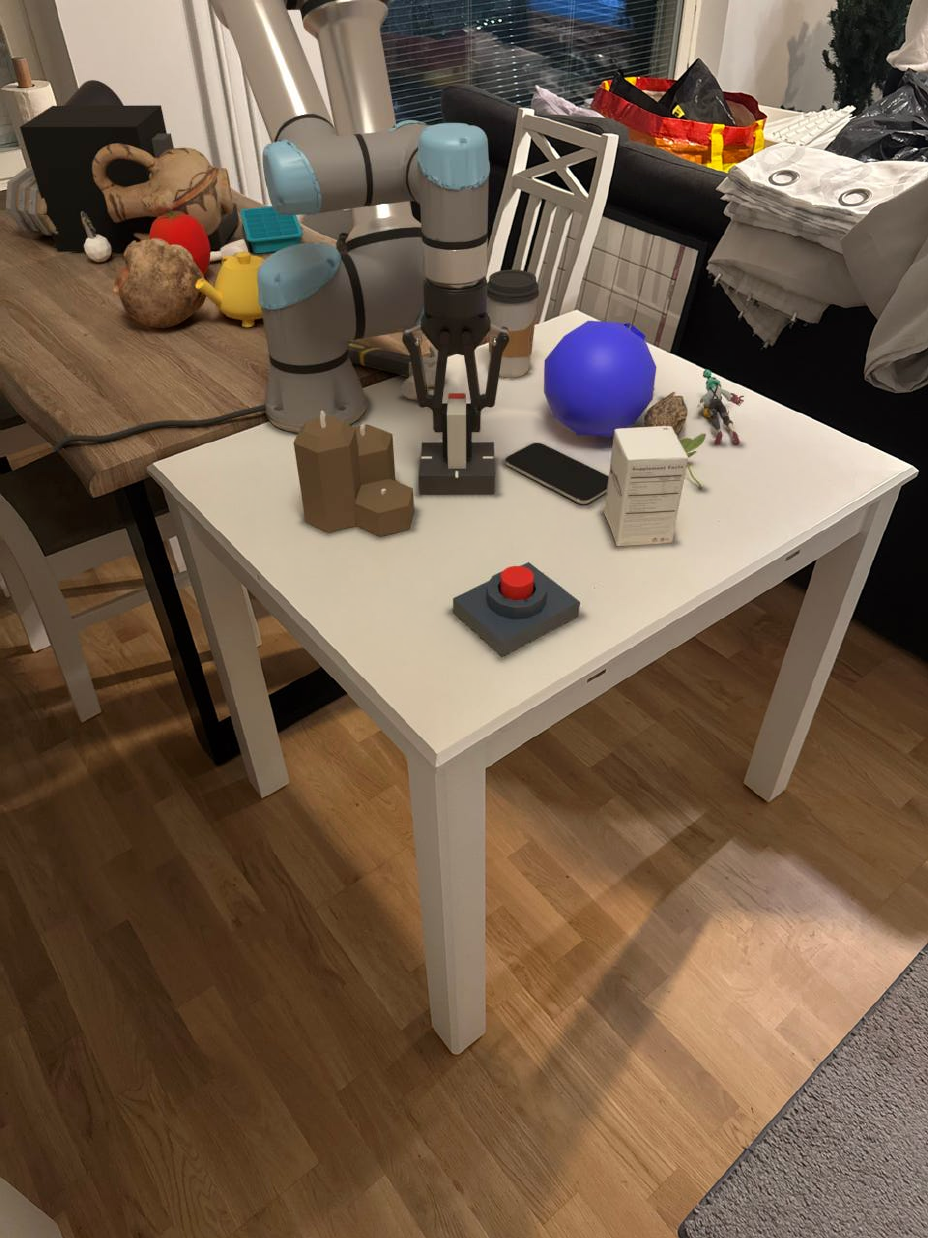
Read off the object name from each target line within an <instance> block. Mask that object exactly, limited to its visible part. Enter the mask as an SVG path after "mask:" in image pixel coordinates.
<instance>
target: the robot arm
mask: <svg viewBox="0 0 928 1238" xmlns="http://www.w3.org/2000/svg"><path fill="white" fill-rule="evenodd" d="M209 1H210V4H211V7H212V10H213V12H214V14H215V16H216V18H217V20H218V21H219V22H220V23H221V25H223V26H224V27H225V28H226V29H227V30H229V32H230V35H231V39H232V41H233V44H234V46H235V49H236V52H237V55H238V57H239V60H240V62H241V65H242V68H243V70H244V73H245V76H246V78H247V81H248V84H249V86H250V89H251V91H252V95H253V97H254V101H255V102H256V105H257V108H258V110H259V113H260V116H261V119H262V122H263V125H264V127H265V130H266V132H267V135H268V137H269V140H270V143H268V144H266V145H265V146H264V148H263V150H262V155H261V157H262V159H261V160H262V171H263V178H264V183H265V186H266V189H267V194H268V198H269V201H270V204H271V206H273V208H274V209H275V210H276V212H278V213H279V214H281V215H296V216H302V215H305V216H314V215H317V214H324V213H329V212H330V213H331V212H337V211H342V210H343V211H344V210H349V212H350V216H351V221H352V229H351V230H350V232H349V236H348V237H347V239H346V247H347V252H348V253H347V254H341V255H340V253H339V252H338V250H337V249H336V248H337V247H336V246H334V245H333V244H331V243H328V242H317V243H314V242H312V241H311V242H304V243H303V242H302V243H300V244H297V245H293V246H290V247H287V248H284V249H281V250H279V251H274V252H272V254H270V255H269V256H267V257H268V258H267V257H266V258H267V259H266V258H264V259H265V260H264V261H263V262H262V264H261V265H260V267H259V270H258V274H257V281H258V293H259V297H258V301H259V304H260V306H261V309H262V315H263V318H262V322H263V327H264V334H265V339H266V347H267V353H268V359H269V371H268V376H267V378H268V379H267V382H266V388H265V393H264V404H261V405H258V406H257V405H256V406H252V407H249V408H245V409H241V410H237V411H233V412H229V413H225V414H222V415H219V416H215V417H210V418H205V419H193V420H188V419H187V420H186V419H184V420H181V419H173V420H172V419H171V420H170V419H169V420H157V421H151V422H147V423H142V424H139V425H135V426H132V427H129V428H126V429H124V430H123V429H122V430H120V431H117V432H112V433H108V434H103V435H87V434H85V435H84V434H75V435H74V434H73V435H69V436H65V437H63V438H61V439H60V440H59V441H58V442H57V443H55V445H54V446H53V451H55V452H57V451H60V450H62V449H63V448H64V447H65V446H66V445H68V444H71V443H75V442H76V443H77V442H85V443H87V442H88V443H103V442H104V443H105V442H110V441H113V440H118V439H121V438H124V437H129V436H130V435H134V434H136V433H140V432H144V431H148V430H152V429H157V428H164V427H203V426H209V425H215V424H219V423H222V422H226V421H229V420H232V419H233V420H234V419H236V418H240V417H244V416H248V415H252V414H257V413H261V412H265V416H266V418H267V420H268V421H269V422H270V423H271V425H273V426H274V427H276V428H278V429H281V430H283V431H286V432H291V433H296V434H298V432H299V430H300V428H301V426H302V425H303V424H305V423H306V422H307V421H308V420H311V419H315V418H320V413H321V411H324V413H325V416H331V417H333V418H336V419H338V420H341V421H343V422H345V423H347V424H349V425H350V426H351V425H352V424H354V423H355V422H356V421H358V420H359V419H361V417H362V416H363V415H364V413H365V412H366V408H367V403H366V394H365V391H364V388H363V386H362V383H361V382H360V379H359V374H358V373H357V372H356V370H355V368H354V366H353V363H352V362H351V361H350V358H349V350H348V341H356V340H361V339H362V340H363V339H368V338H369V339H370V338H374V337H380V336H387V335H392V334H398V333H402V337H401V342H402V343H403V345H404V347H405V349H406V350H407V352H408V355H410V360H411V365H412V371H413V377H414V383H415V388H416V394H417V399H416V400H417V404H418V407H420V408H422V409H424V408H428V409H429V410H431V412H432V427H433V428H432V430H433V432H434V433H435V434H436V433H438V434H439V433H441V442H442V456H443V457H448V442H447V403H448V402H447V403H446V402H445V403H444V391H445V383H446V373H447V366H448V357H449V356H453V355H459V356H463V358H464V359H463V360H464V364H465V371H466V380H467V388H468V395H469V400H470V402H466V457H472V442H473V433H480V432H481V428H482V427H481V423H482V421H481V420H482V410H484V409H486V408H489V409H490V408H493V407H494V406H495V404H496V398H497V393H498V384H499V380H500V379H499V378H500V376H499V372H500V366H501V359H502V353H503V351H504V349H505V348H506V346H507V344H508V342H509V330H508V328H507V327H501V328H499V327H497V326H495V325H493V324H491V320H490V318H489V316H488V308H487V283H488V279H487V277H486V276H487V274H488V254H489V253H488V247H489V246H488V245H489V244H488V243H489V238H488V232H489V231H488V230H489V229H488V227H489V225H488V223H489V183H490V182H489V181H490V180H489V179H490V177H489V176H490V172H491V163H490V160H489V159H490V158H489V139H488V136H487V134H486V132H485V131H484V130H483V129H482V128H480V127H479V126H476V125H469V124H468V123H463V122H444V123H443V122H442V123H437V124H432V125H431V124H427V123H426V122H423V121H419V120H415V119H406V120H402V121H400V122H398V123H397V120H396V115H395V109H394V104H393V97H392V92H391V86H390V82H389V75H388V69H387V64H386V63H387V62H386V58H385V52H384V46H383V41H382V34H381V27H382V25H383V23H384V22H385V20H386V19H387V17H388V15H389V9H388V5H389V4H390V3H391V2H392V1H393V0H209ZM289 11H299V12H300V17H301V22H302V26H303V29H304V30H305V31H306V32H307V33H308V34H310V35H311V36H312V37H314V38H315V39H316V41H317V44H318V49H319V55H320V60H321V64H322V65H321V66H322V70H323V76H324V81H325V86H326V91H327V97H328V101H329V102H328V103H329V107H330V112H331V115H330V113H329V110H328V108H327V106H326V103H325V100H324V98H323V95H322V93H321V90H320V88H319V86H318V83H317V81H316V78H315V75H314V73H313V71H312V68H311V66H310V63H309V61H308V59H307V56H306V53H305V51H304V49H303V46H302V44H301V41H300V39H299V36H298V33H297V31H296V28H295V26H294V24H293V21H292V19H291V17H290V14H289ZM331 118H332V119H331ZM411 202H415V203H416V204H417V205H418V206H419V207H420V209H419V211H420V221H419V220H417V219H416V218H415V217H414V216H413V212H412V211H413V210H412V206H411V205H412V204H411ZM488 334H489V335H490V344H491V345H492V350H491V357H490V356H489V365H488V372H487V380H486V385H485V386H486V387H485V393H482V394H481V391H480V390H481V389H480V384H479V383H480V382H479V376H478V367H477V359H476V358H477V357H476V352H475V351H476V350H477V348H478V347H479V346H480V345H481V343H482V342H483V340H484V339H485V338H486V337H487V336H488ZM423 335H424V336H425V337H426V338H427V340H428V341H429V342H430V343H431V346H432V347H434V348H436V350H437V351H438V356H437V366H436V375H435V385H434V387H433V394H430V393H429V390H428V387H427V383H426V377H425V371H424V365H423V359H422V356H423V354H422V353H423V352H422V347H421V345H422V344H423Z"/></svg>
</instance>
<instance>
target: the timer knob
mask: <svg viewBox="0 0 928 1238" xmlns="http://www.w3.org/2000/svg"><path fill="white" fill-rule="evenodd" d="M466 403H467V394H466V393H465V392H449V393H448V394H447V442H448V469H466Z"/></svg>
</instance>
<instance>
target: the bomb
mask: <svg viewBox="0 0 928 1238" xmlns="http://www.w3.org/2000/svg"><path fill="white" fill-rule="evenodd" d="M630 327H631V328H630ZM646 338H647V336H646V335H645V334H644V333H643V332H642V331H641V330H639V329H638V328H637V327H636V326H635V325H631V323H629V322H627V323H622V322H621V321H619V322H618V321H602V320H601V321H600V320H587V321H585V322H584V323H582V324H581V325H578V326H577V327H576V328H574V329H572V330H571V331H570V332H568V333H567V334H565V335H563V337H561V339H560V340H559V342H558V343H557V344H556V345H555V346H554V348H553V349H552V350H551V351H550V352H549V354H548V355H547V356H546V357H545V359H544V367H543V369H544V370H543V371H544V372H543V394H544V396H545V399H546V401H547V404H548V405H547V406H548V407H549V411H550V413H551V416H552V418H554V419H555V420H556V421H558V422H559V423H560V424H562V426H564V427H566V428H567V429H568V430H570V431H571V432H572V433H574V434H575V435H577V436H581V437H582V436H583V437H600V438H610V437H612V436H614V430H615V429H621V428H631V427H632V426H634V425H635V424H636V423H637V421H638V420H639V419H640V417H641V416H642V414H643V413H644V412H645V411H646V409H647V408H648V406H649V405H650V404H651V402H652V401H653V399H654V391H655V383H656V375H657V365H656V363H655V360H654V358H653V355H652V353H651V351H650V349H649V346H648V344H647V342H646Z"/></svg>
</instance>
